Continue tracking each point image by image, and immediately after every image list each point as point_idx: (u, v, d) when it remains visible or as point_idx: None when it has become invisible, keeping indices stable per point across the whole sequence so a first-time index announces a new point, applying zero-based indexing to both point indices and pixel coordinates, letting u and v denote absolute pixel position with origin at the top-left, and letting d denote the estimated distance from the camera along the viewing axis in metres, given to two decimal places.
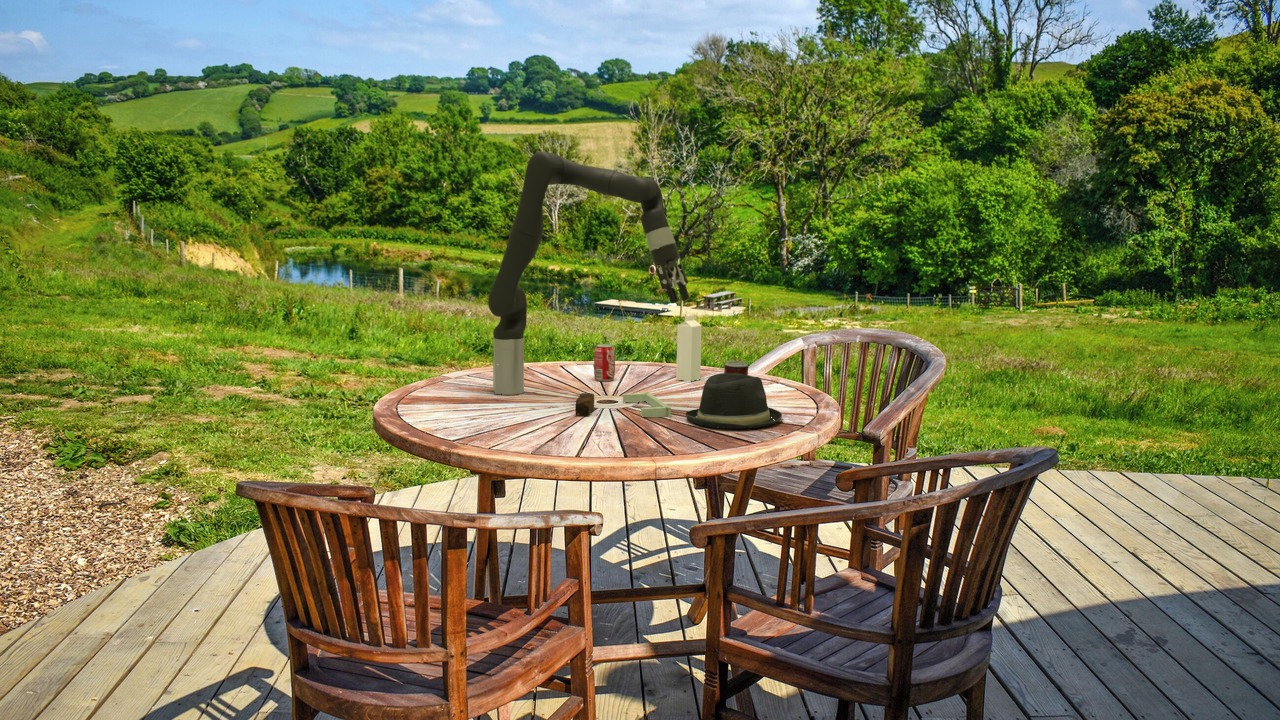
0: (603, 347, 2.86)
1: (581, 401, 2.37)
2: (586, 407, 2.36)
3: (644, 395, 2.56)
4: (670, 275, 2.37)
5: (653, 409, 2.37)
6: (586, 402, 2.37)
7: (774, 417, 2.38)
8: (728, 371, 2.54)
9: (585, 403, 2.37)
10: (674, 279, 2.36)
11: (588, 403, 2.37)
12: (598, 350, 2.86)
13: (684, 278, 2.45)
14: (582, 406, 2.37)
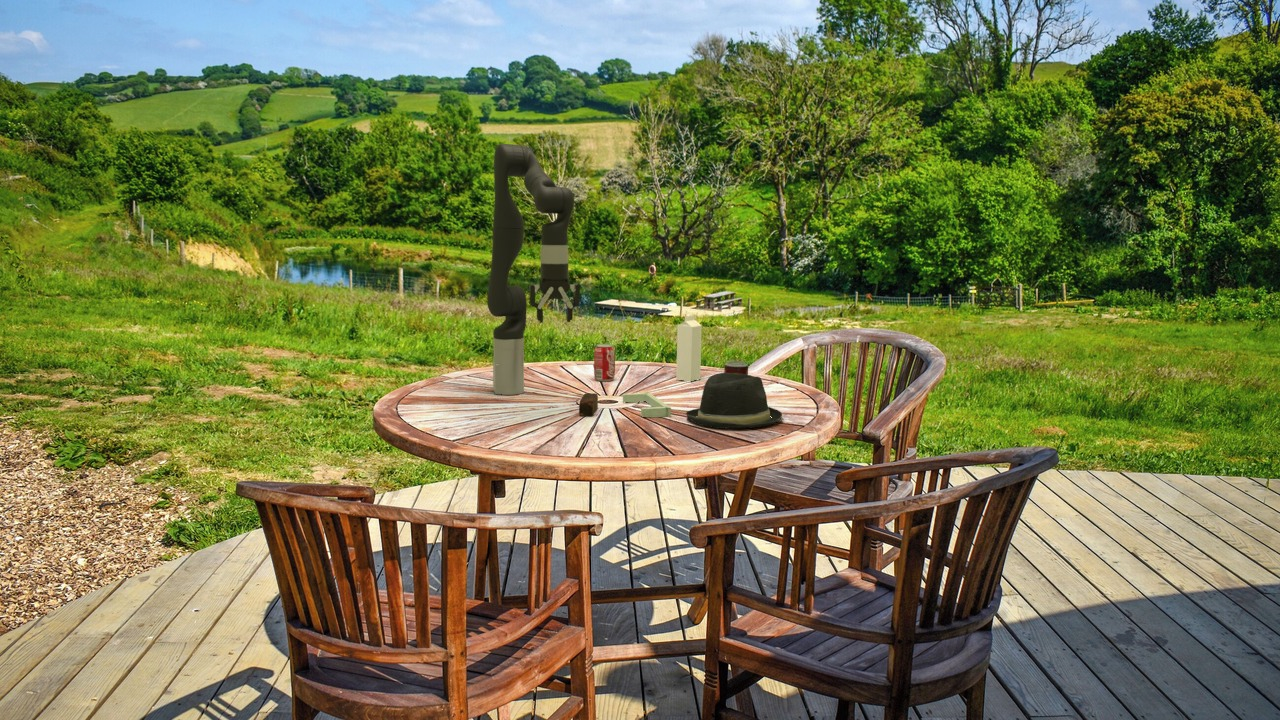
0: (603, 347, 2.86)
1: (585, 401, 2.37)
2: (590, 407, 2.36)
3: (644, 395, 2.56)
4: (545, 294, 2.33)
5: (653, 409, 2.37)
6: (590, 402, 2.37)
7: (774, 416, 2.39)
8: (728, 371, 2.54)
9: (589, 403, 2.37)
10: (544, 300, 2.32)
11: (592, 403, 2.37)
12: (598, 350, 2.86)
13: (575, 300, 2.35)
14: (586, 406, 2.36)
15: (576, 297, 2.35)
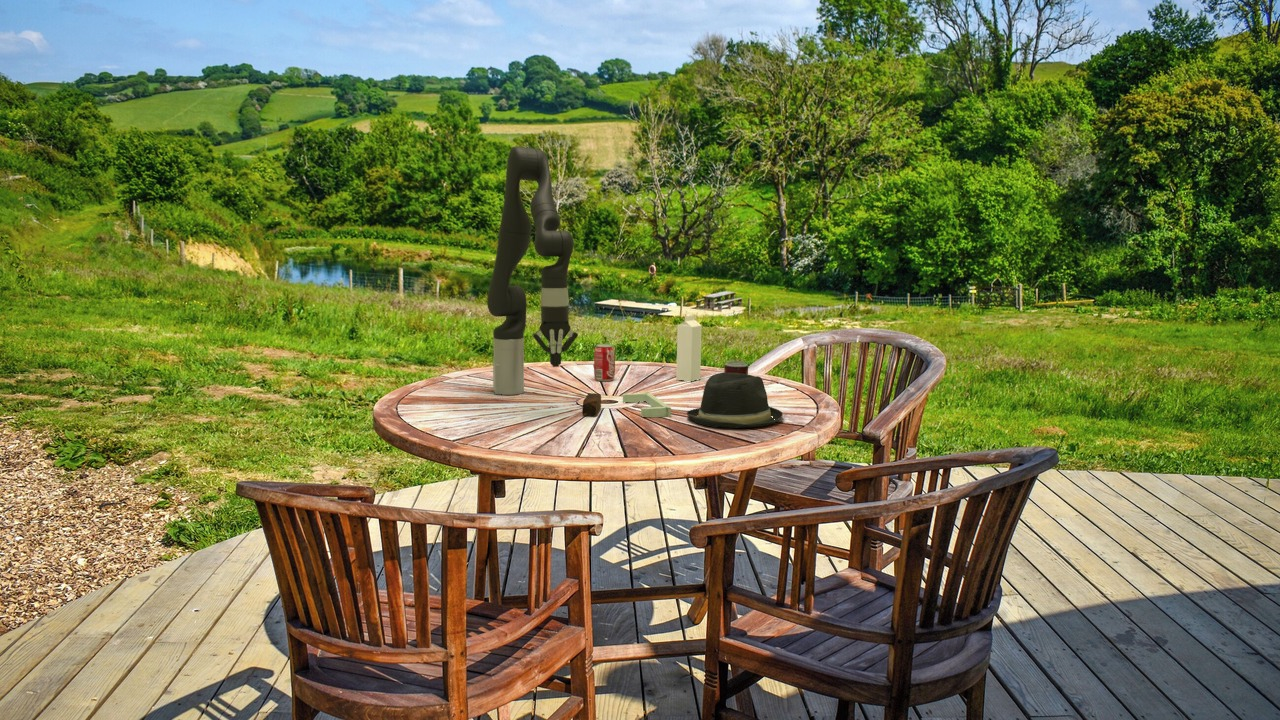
0: (603, 347, 2.86)
1: (588, 401, 2.37)
2: (593, 407, 2.36)
3: (644, 395, 2.56)
4: None
5: (653, 409, 2.37)
6: (593, 402, 2.37)
7: (775, 416, 2.39)
8: (728, 371, 2.54)
9: (592, 403, 2.36)
10: (552, 344, 2.35)
11: (595, 403, 2.37)
12: (598, 350, 2.86)
13: (565, 344, 2.37)
14: (589, 406, 2.36)
15: (568, 343, 2.36)
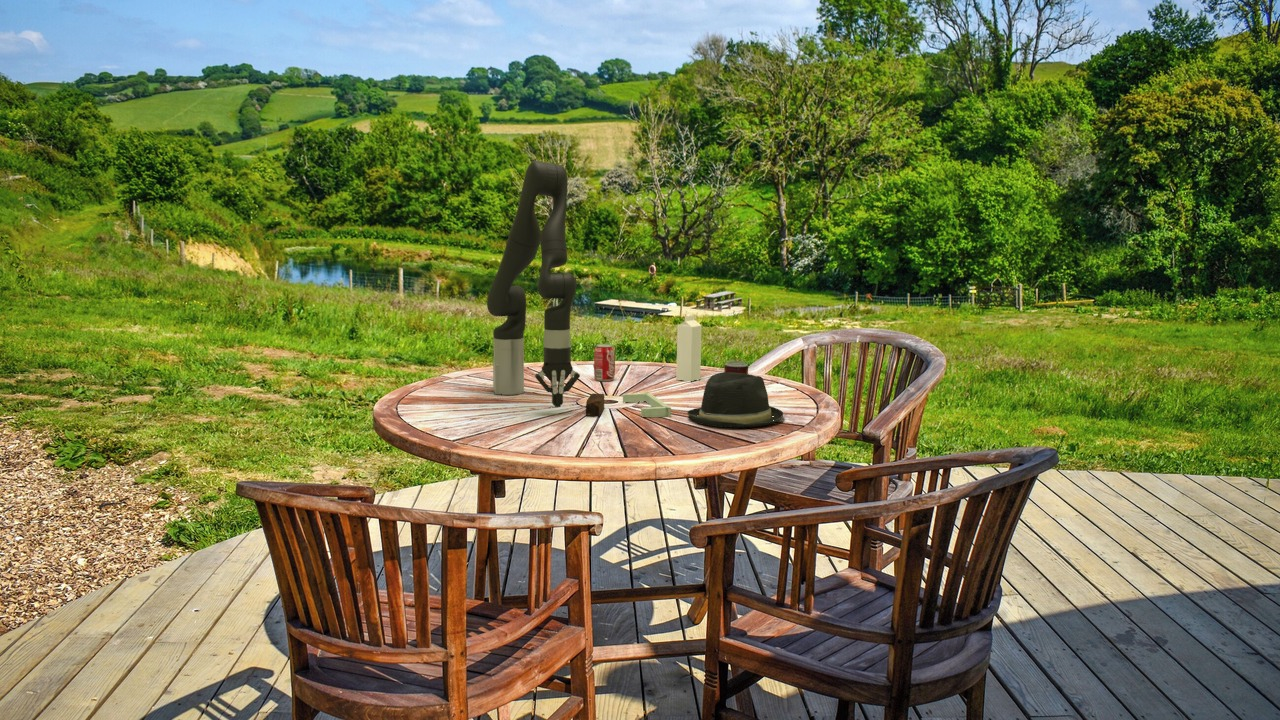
0: (603, 347, 2.86)
1: (591, 401, 2.37)
2: (596, 407, 2.36)
3: (644, 395, 2.56)
4: None
5: (653, 409, 2.37)
6: (596, 402, 2.37)
7: (776, 416, 2.39)
8: (728, 371, 2.54)
9: (596, 403, 2.36)
10: (554, 385, 2.37)
11: (598, 403, 2.37)
12: (598, 350, 2.86)
13: (567, 384, 2.38)
14: (592, 406, 2.36)
15: (570, 383, 2.38)
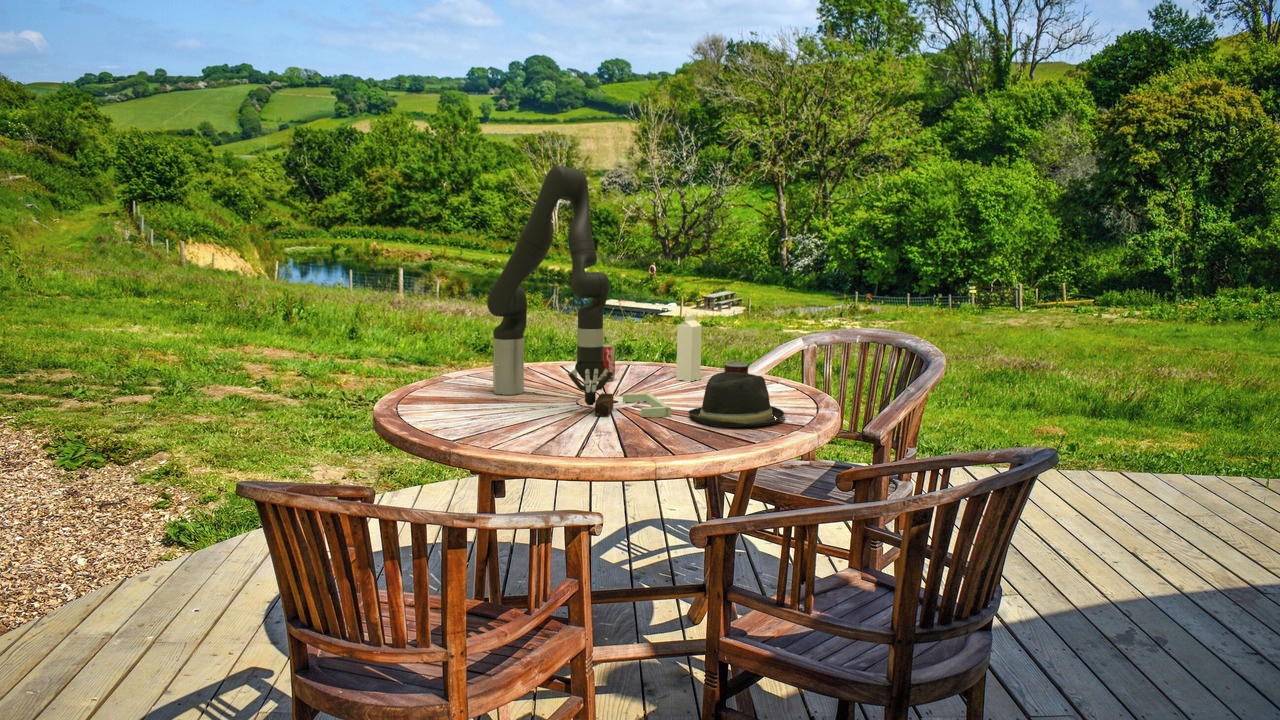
0: None
1: (601, 401, 2.37)
2: (606, 407, 2.36)
3: (644, 395, 2.56)
4: None
5: (653, 409, 2.37)
6: (606, 402, 2.36)
7: (777, 416, 2.40)
8: (728, 371, 2.54)
9: (605, 403, 2.36)
10: (587, 383, 2.39)
11: (608, 403, 2.37)
12: None
13: (600, 383, 2.41)
14: (602, 406, 2.36)
15: (603, 382, 2.41)
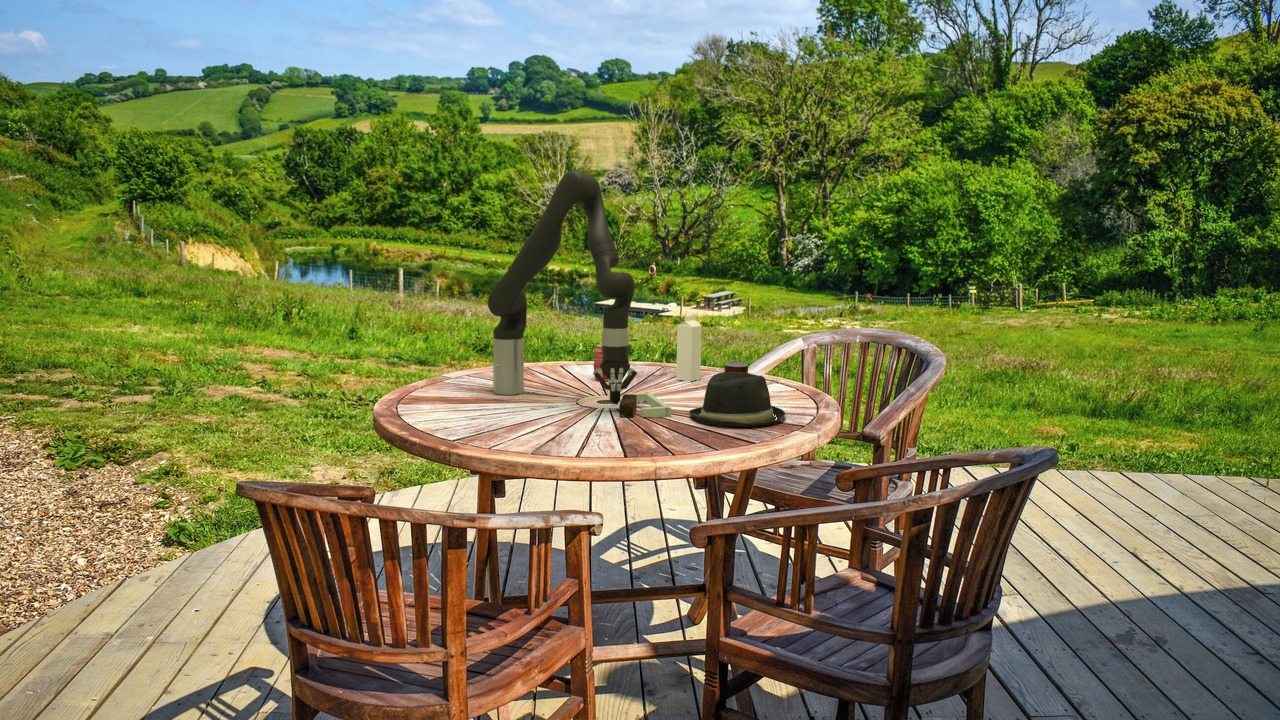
0: None
1: (625, 402, 2.36)
2: (630, 408, 2.36)
3: (644, 395, 2.56)
4: None
5: (653, 409, 2.37)
6: (630, 403, 2.36)
7: (778, 416, 2.40)
8: (728, 371, 2.54)
9: (629, 404, 2.36)
10: (613, 382, 2.41)
11: (632, 404, 2.36)
12: (598, 350, 2.86)
13: (625, 382, 2.43)
14: (626, 407, 2.36)
15: (628, 381, 2.43)
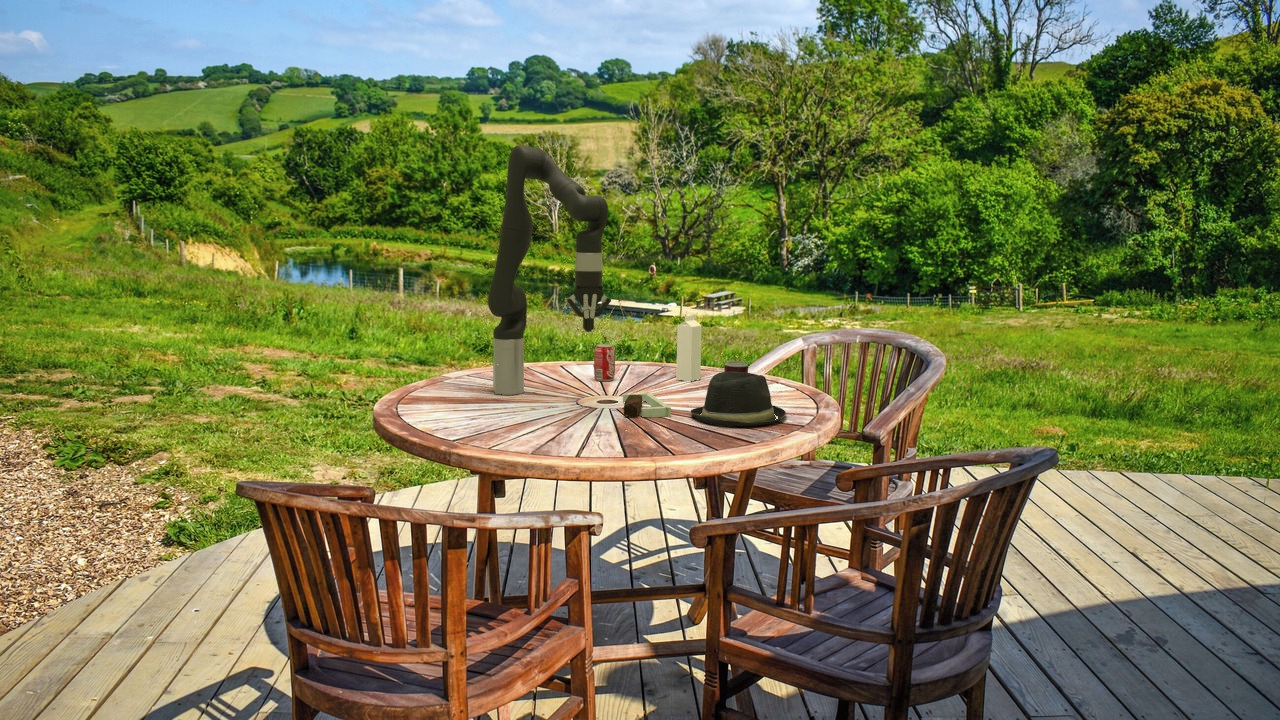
0: (603, 347, 2.86)
1: (629, 402, 2.36)
2: (634, 409, 2.35)
3: (644, 395, 2.56)
4: None
5: (653, 409, 2.37)
6: (634, 403, 2.36)
7: (778, 415, 2.41)
8: None
9: (634, 404, 2.36)
10: (586, 309, 2.36)
11: (636, 405, 2.36)
12: (598, 350, 2.86)
13: (599, 309, 2.38)
14: (630, 407, 2.36)
15: (601, 308, 2.38)
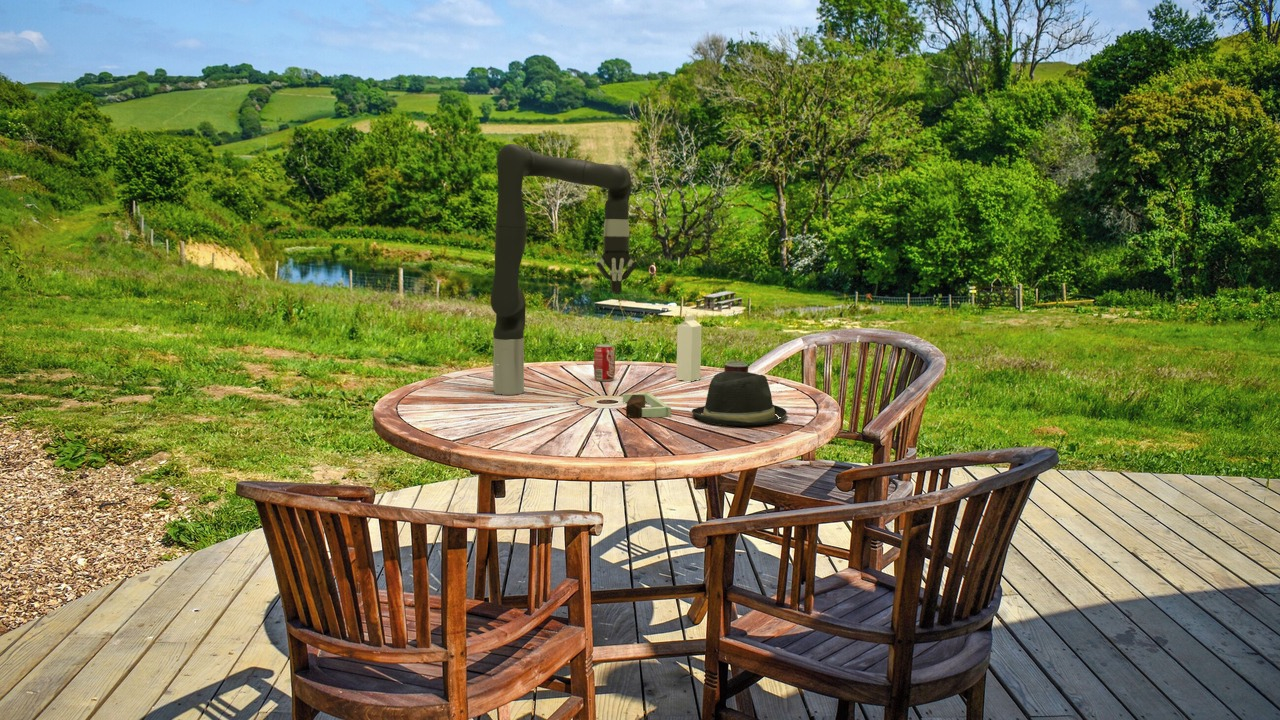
0: (603, 347, 2.86)
1: (632, 403, 2.36)
2: (637, 409, 2.35)
3: None
4: None
5: (653, 409, 2.37)
6: (637, 404, 2.36)
7: (779, 414, 2.41)
8: None
9: (636, 404, 2.35)
10: (614, 272, 2.53)
11: (639, 405, 2.36)
12: (598, 350, 2.86)
13: (625, 272, 2.55)
14: (633, 408, 2.35)
15: (628, 271, 2.54)
